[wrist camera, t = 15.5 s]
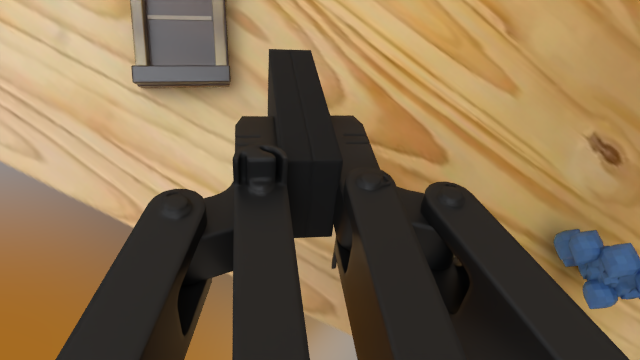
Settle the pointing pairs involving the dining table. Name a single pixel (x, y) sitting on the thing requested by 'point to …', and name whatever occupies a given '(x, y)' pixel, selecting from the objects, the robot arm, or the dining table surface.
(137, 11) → the brown wooden tray
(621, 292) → the grapes
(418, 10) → the dining table surface
